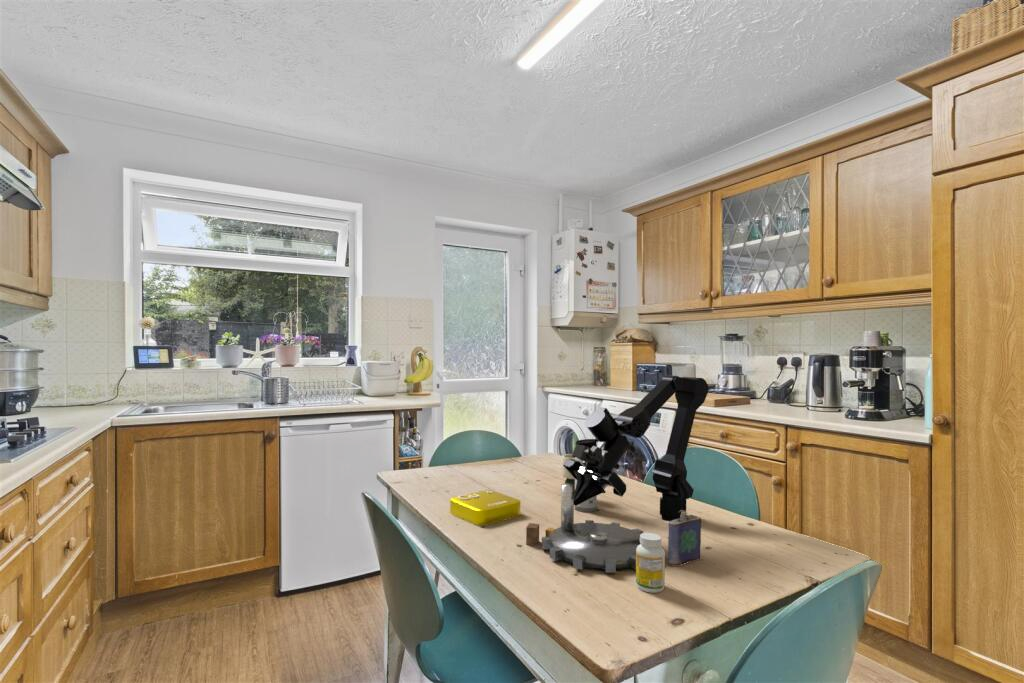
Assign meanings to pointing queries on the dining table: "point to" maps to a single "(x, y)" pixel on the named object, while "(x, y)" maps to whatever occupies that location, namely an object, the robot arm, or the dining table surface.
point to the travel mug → (590, 503)
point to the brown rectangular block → (532, 534)
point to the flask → (684, 539)
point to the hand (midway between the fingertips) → (573, 504)
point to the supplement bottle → (650, 563)
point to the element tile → (484, 507)
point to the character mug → (565, 473)
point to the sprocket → (590, 540)
